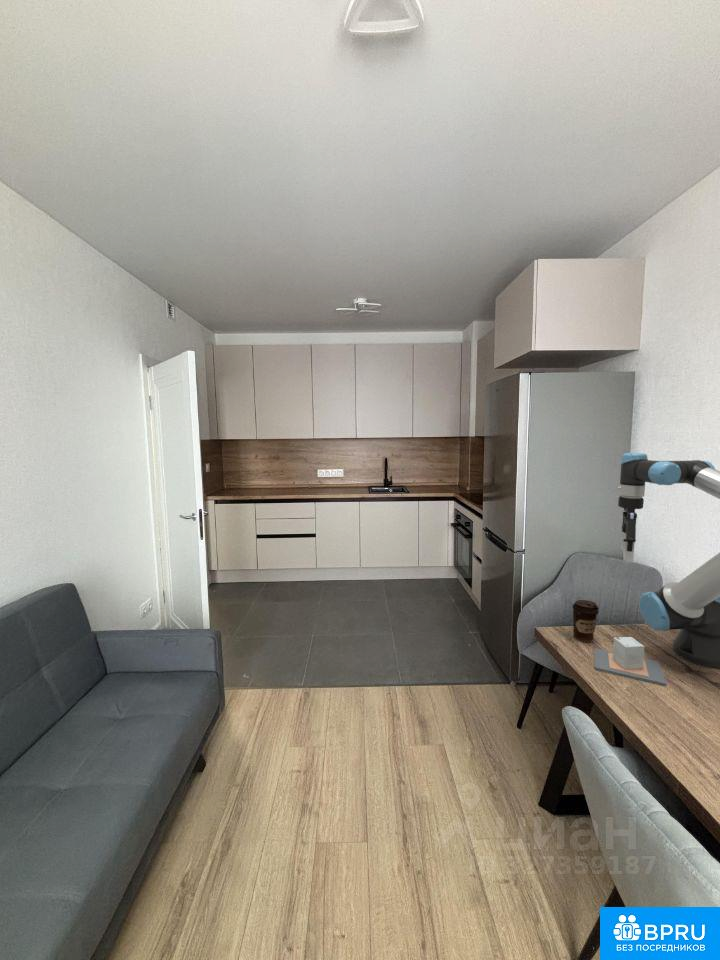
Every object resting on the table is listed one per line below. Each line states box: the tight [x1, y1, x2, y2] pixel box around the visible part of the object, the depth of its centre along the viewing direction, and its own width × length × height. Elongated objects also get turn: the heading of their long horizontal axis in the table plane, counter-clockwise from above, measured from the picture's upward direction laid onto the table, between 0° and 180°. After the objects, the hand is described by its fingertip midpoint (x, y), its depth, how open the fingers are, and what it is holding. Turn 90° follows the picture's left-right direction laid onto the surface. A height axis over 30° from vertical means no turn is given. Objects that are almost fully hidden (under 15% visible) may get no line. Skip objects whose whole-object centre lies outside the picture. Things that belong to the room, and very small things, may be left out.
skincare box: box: [612, 636, 645, 669], centre depth 131 cm, size 6×6×7 cm
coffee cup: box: [572, 599, 600, 643], centre depth 148 cm, size 9×8×13 cm
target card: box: [593, 647, 667, 687], centre depth 131 cm, size 18×13×1 cm
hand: (626, 554), depth 152 cm, fingers open, 13 cm apart
